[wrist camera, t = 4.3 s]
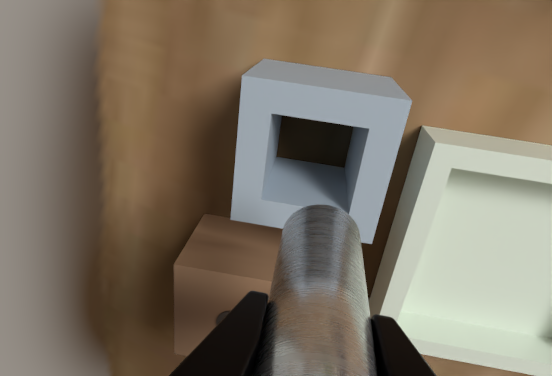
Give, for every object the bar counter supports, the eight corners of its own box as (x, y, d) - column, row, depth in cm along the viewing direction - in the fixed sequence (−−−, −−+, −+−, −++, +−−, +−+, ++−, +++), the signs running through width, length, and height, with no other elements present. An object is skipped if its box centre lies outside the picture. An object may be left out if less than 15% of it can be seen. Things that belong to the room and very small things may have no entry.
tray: (564, 347, 23) (591, 386, 21) (365, 310, 24) (369, 344, 21) (682, 165, 18) (736, 189, 15) (421, 125, 18) (435, 142, 16)
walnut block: (292, 307, 24) (284, 376, 20) (202, 291, 25) (173, 355, 20) (306, 229, 22) (300, 288, 17) (204, 212, 22) (173, 265, 18)
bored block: (362, 191, 20) (371, 244, 16) (252, 173, 21) (230, 219, 16) (390, 77, 18) (412, 100, 13) (263, 58, 18) (241, 75, 13)
